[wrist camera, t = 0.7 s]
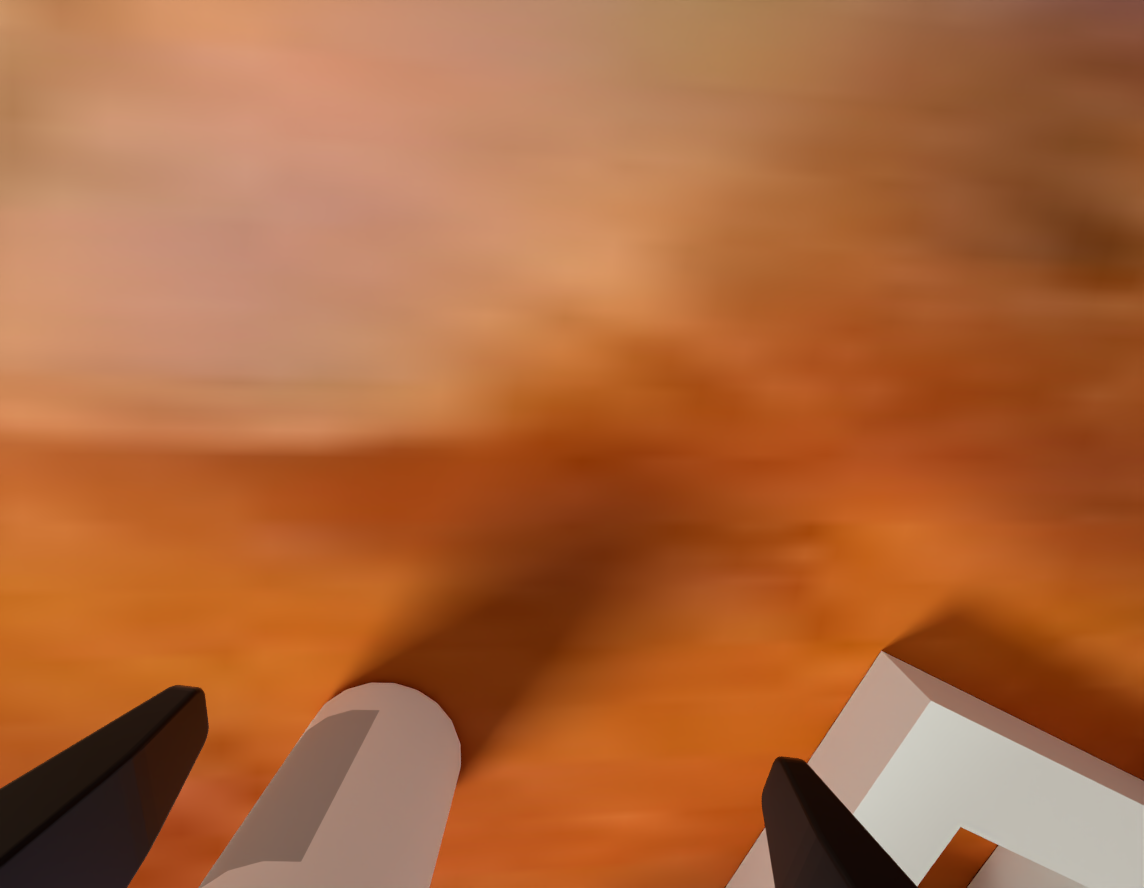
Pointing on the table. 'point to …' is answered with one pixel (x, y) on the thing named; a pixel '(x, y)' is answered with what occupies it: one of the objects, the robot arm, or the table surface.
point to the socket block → (972, 789)
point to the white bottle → (352, 799)
